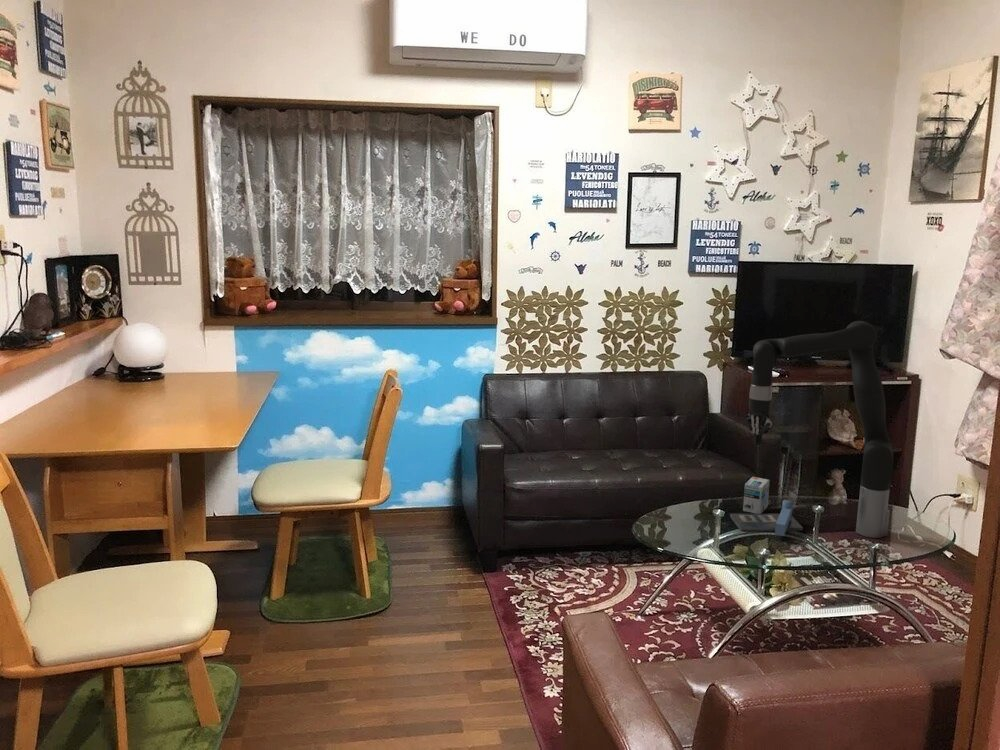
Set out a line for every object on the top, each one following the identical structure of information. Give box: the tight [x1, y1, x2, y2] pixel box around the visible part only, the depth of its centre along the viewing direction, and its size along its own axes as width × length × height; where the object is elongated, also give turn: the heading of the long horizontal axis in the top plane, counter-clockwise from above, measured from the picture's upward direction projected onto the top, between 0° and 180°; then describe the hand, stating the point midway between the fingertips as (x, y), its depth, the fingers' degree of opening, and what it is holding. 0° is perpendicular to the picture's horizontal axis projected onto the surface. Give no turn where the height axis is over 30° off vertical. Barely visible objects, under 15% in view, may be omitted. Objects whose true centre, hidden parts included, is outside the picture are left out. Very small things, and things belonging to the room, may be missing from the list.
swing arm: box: [774, 499, 794, 537], centre depth 281 cm, size 20×4×6 cm, turn 153°
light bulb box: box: [742, 476, 770, 514], centre depth 301 cm, size 11×7×11 cm, turn 147°
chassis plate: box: [729, 513, 804, 532], centre depth 288 cm, size 22×13×2 cm, turn 90°
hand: (757, 443), depth 285 cm, fingers closed
